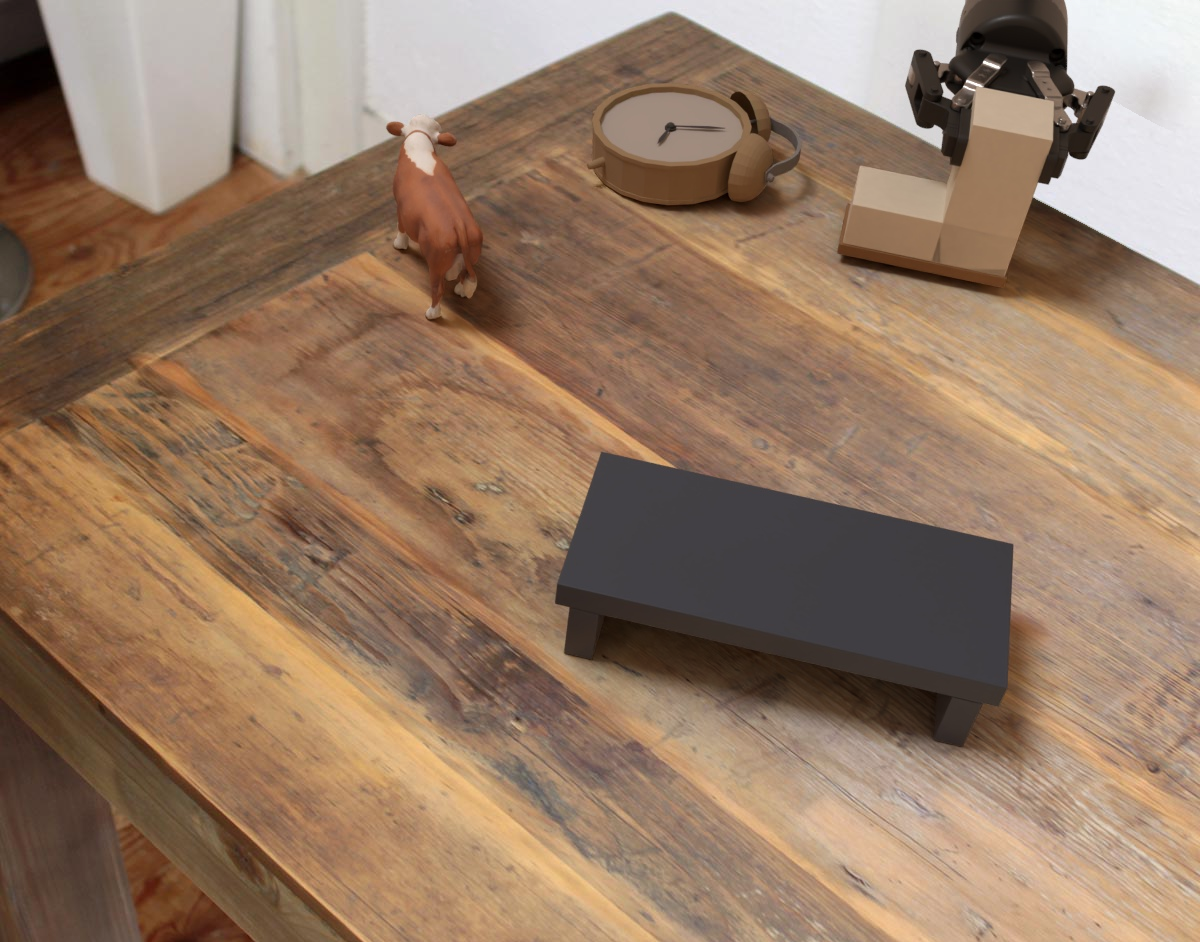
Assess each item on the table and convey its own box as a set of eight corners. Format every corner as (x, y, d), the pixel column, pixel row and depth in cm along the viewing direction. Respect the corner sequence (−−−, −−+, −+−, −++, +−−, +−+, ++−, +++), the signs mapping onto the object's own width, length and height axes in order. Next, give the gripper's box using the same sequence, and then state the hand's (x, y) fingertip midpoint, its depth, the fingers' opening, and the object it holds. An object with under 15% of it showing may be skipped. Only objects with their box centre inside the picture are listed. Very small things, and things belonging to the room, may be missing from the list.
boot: (1006, 246, 103) (1057, 101, 95) (1003, 288, 100) (1056, 141, 92) (844, 212, 104) (881, 66, 96) (836, 253, 101) (874, 105, 92)
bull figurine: (443, 207, 101) (446, 97, 95) (487, 330, 92) (493, 217, 86) (379, 212, 100) (378, 100, 94) (418, 336, 91) (419, 223, 85)
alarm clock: (592, 79, 108) (799, 69, 107) (597, 140, 112) (797, 131, 110) (583, 162, 101) (805, 152, 99) (589, 225, 104) (804, 216, 103)
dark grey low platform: (985, 607, 80) (1014, 543, 77) (977, 750, 74) (1007, 688, 70) (592, 517, 82) (601, 450, 78) (549, 650, 75) (556, 583, 72)
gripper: (924, -33, 102) (905, 84, 91) (1132, 7, 101) (1139, 131, 90) (898, 68, 108) (877, 191, 96) (1095, 107, 107) (1097, 236, 95)
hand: (1003, 161), depth 93 cm, fingers closed on boot, 5 cm apart
